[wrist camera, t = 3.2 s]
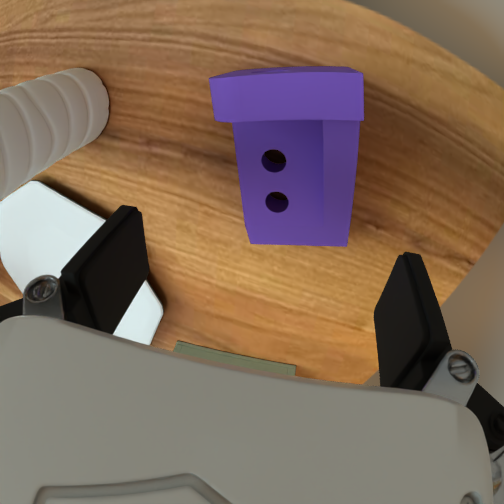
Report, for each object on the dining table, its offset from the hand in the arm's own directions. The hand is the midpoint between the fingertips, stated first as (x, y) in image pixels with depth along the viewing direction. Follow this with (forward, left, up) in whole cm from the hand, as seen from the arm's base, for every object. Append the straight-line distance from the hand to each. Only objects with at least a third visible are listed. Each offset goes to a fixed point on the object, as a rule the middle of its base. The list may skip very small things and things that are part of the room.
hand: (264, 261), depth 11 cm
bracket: (0, 0, -12) cm, 12 cm away
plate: (+22, +16, -12) cm, 30 cm away
